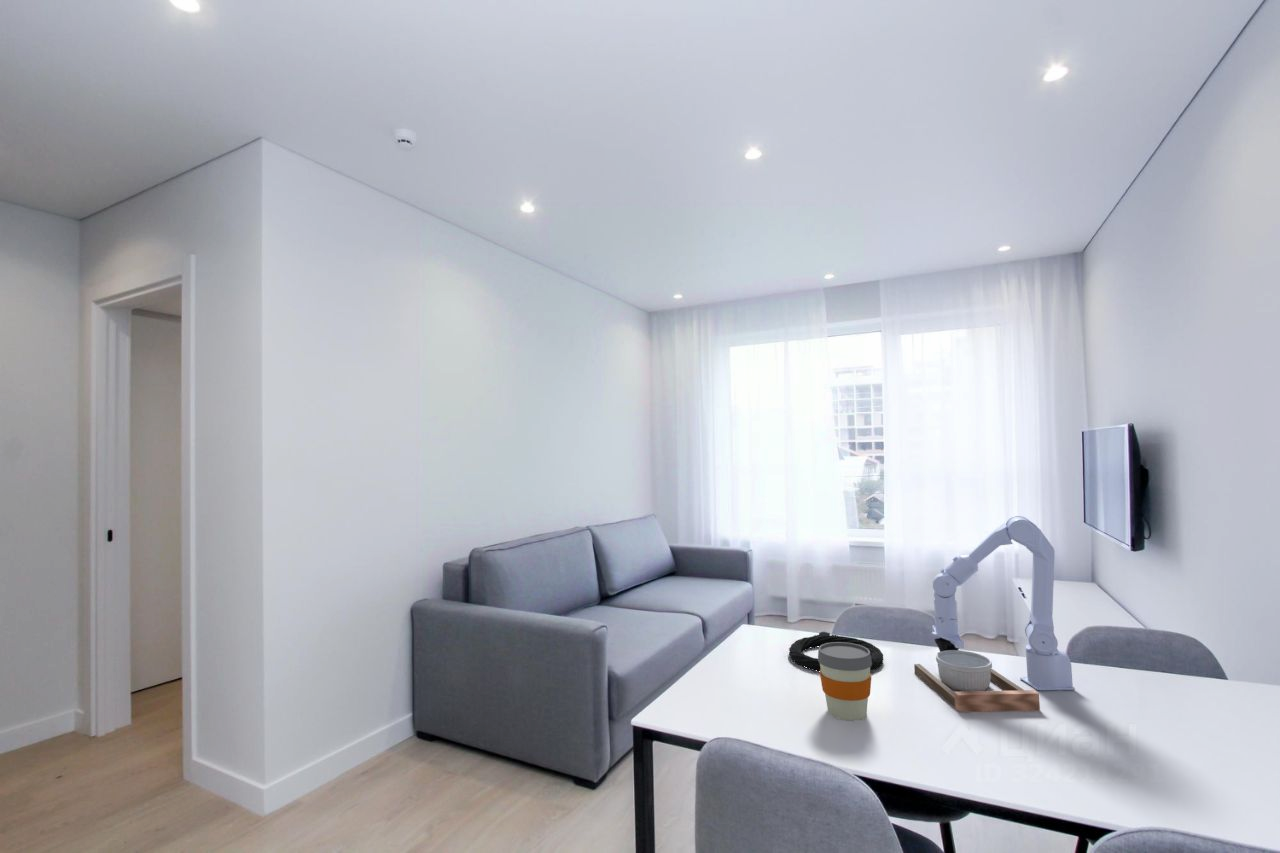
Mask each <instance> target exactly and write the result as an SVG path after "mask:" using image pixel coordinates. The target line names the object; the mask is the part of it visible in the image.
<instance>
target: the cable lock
mask: <svg viewBox="0 0 1280 853" xmlns="http://www.w3.org/2000/svg"><path fill="white" fill-rule="evenodd" d="M831 642H846V643H853V644H858V645H861V646H864V647H866V648H867V649H869V650H870V655H871V661H872V665H871V667H870V672H873V671H875V670H877V669H878V668H879V667H881V666H882V664H883V661H884V654H883V652H882V651H881V649H880V648H878V647H877V646H875V645H873V644H872V643H870V642H868V641H866V640H862V639H859V638H856V637H851V636H850V637H849V636H841V635H837V634H835V635H834V634H831V633H830V632H827V631H821V632H818V634H815V635H813V636H807V637H803V638H800V639H797V640H795V641H793V643H792V644H791V645H790V646H789V648H788V650H789V652H788V656H790V659H792V661H793V662H794V663H795V662H796V663H795V664H797V665H799V666H801V667H803V666H805V667H807V668H810V669H809V670H811V669H813V670H812V671H814V670H817V671H816V672H818V671H820V669H821V667H820V663H819V661H818V657H817V658H816V657H812V656H809V655H807V654H805V653H803V652H804V651H806V650H809V649H808V648H810V647H814V648H817V647H816V646H821V645H823V644H826V643H831ZM805 649H806V650H805ZM810 649H811V648H810ZM803 650H804V651H803ZM807 668H806V669H807Z"/></svg>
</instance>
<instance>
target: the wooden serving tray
mask: <svg viewBox="0 0 1280 853" xmlns="http://www.w3.org/2000/svg"><path fill="white" fill-rule="evenodd" d="M913 665H914V666H913V667H914V674H915V675H916V676H917V677H919V678H920V679H921V680H922V681H923V682H924V683H925V684H927V685H928V687H930V688H931V689H932V690H934V691H935V692H936V693H937V694H938V695H939V696H940V697H942V698H943V699H944V700H945V701H946V702H947V703H949V704H950V705H951V706H952V707H953V708H954V709H956V710H957V711H958V712H959V713H966V712H967V713H969V712H970V713H972V712H974V713H975V712H976V713H977V712H1026V711H1028V712H1030V711H1033V712H1037V711H1041V707H1040V693H1038V692H1037V691H1035V690H1034V689H1029V690H1028V689H1027V690H1026V689H1023V688H1022V687H1020V686H1019V685H1017V684H1016V683H1014V682H1012V680H1010V679H1008V677H1007V678H1006V677H1005V676H1004V675H1002V674H1001V673H998V672H997V671H996V670H995V669H993V668H991V677H990V682H992V683H993V684H994V685H996V686H997V687H998V688H1000V689H1002V690H984V691H954V690H952V688H950V687H948V686H947V685H945V684H944V683H943V681H942V680H941V679H938V677H937V676H935V675H934V674H933V673H931V672H930V671H929V670H928V669H927V668H925V667H924V666H923V665H922V664H920V663H914V664H913Z"/></svg>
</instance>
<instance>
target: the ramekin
mask: <svg viewBox="0 0 1280 853" xmlns="http://www.w3.org/2000/svg"><path fill="white" fill-rule="evenodd" d="M935 660H936V663H937V668H938V674H939V678H940V679H939V680H940V681H941V682H942V683H943V684H945V685H946V686H947V687H948V688H950V689H953V690H957V691H959V692H964V691H987V689H988V688H989V687H990V684H991V681H990V677H991V669H993V665H992V663H993V662H992V660H991V659H990V658H989V657H987V656H986V655H983V654H981V653H977V652H973V651H969V650H968V651H967V650H960V649H958V650H946V651H941V652H940V651H939V652H937V653H936V654H935Z"/></svg>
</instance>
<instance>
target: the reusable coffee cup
mask: <svg viewBox="0 0 1280 853" xmlns="http://www.w3.org/2000/svg"><path fill="white" fill-rule="evenodd" d="M817 655H818V656H817V659H818V661H819V663H820V667H821V669H820V672H819V677H820V682H821V689H822V691H823V693H824V694H825V695H824V696H825V701H826V702H825V703H826V708H827V713H828V714H829V715H830V716H832V717H834V718H836V719H839V720H843V721H853V722H854V721H860V720H863V719H865V718H866V717H867V714H868V713H867V712H868V702H869V701H868V700H869V697H870V695H871V685H872V674H871V671H870V667H871V665H872V661H871V655H870V650H869V649H867V648H866V647H864V646H861V645H858V644H853V643H846V642H831V643H826V644H823V645H821V646H819V647H818V652H817Z"/></svg>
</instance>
